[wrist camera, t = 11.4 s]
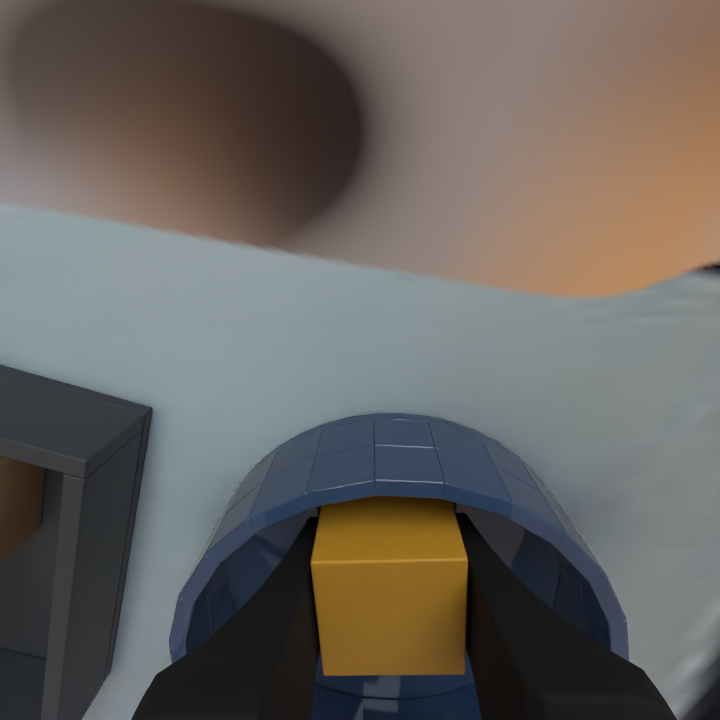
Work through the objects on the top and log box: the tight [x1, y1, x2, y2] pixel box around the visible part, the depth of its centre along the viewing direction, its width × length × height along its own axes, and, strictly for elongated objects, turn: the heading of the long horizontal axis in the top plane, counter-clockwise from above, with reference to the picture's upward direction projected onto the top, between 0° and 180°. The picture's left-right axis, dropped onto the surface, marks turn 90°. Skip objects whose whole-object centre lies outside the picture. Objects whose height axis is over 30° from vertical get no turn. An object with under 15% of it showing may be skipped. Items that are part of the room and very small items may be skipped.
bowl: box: [169, 414, 629, 720], centre depth 14 cm, size 13×13×4 cm
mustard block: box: [310, 496, 468, 676], centre depth 13 cm, size 4×4×4 cm
